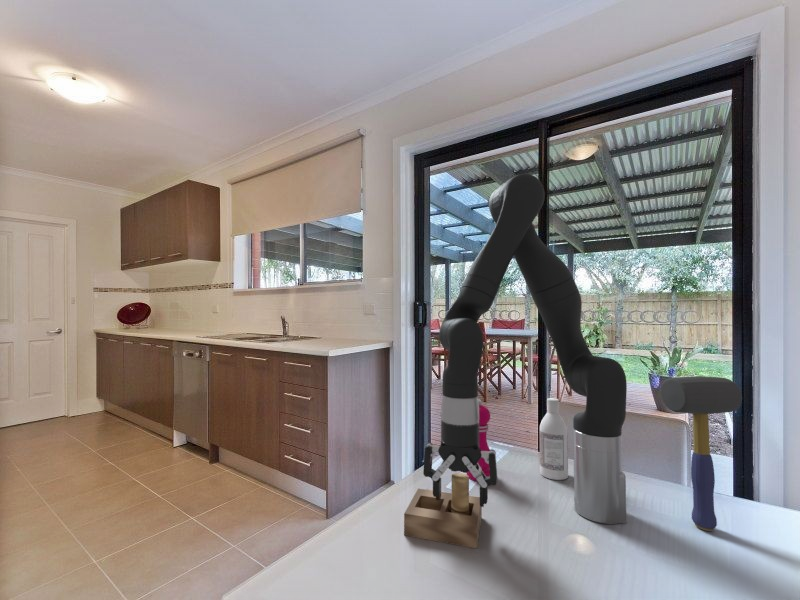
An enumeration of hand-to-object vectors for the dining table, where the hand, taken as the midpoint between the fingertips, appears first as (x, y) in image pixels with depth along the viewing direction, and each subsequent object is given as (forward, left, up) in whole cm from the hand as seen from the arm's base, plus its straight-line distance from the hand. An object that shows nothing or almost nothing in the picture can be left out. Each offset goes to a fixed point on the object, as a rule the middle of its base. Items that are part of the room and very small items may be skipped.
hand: (459, 501), depth 73 cm
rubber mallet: (-46, -15, -5) cm, 49 cm away
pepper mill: (-1, -26, -5) cm, 27 cm away
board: (+3, 0, -5) cm, 6 cm away
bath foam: (-20, -33, -5) cm, 39 cm away
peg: (0, 0, -5) cm, 5 cm away
